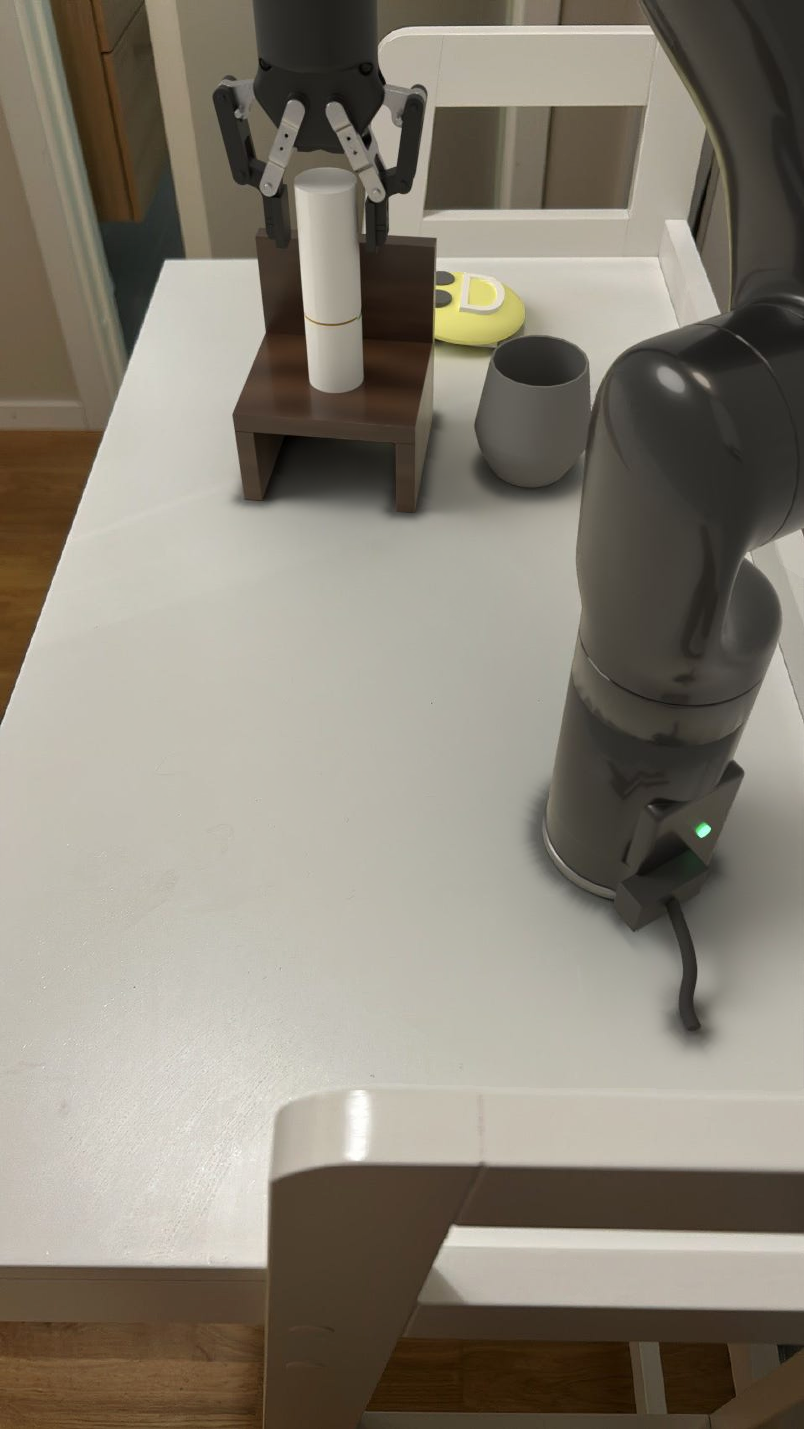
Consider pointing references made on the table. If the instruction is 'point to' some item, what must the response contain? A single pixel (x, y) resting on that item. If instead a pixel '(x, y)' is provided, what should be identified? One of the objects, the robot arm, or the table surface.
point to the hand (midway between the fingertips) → (328, 246)
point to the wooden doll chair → (392, 364)
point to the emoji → (475, 309)
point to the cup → (534, 409)
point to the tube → (330, 277)
